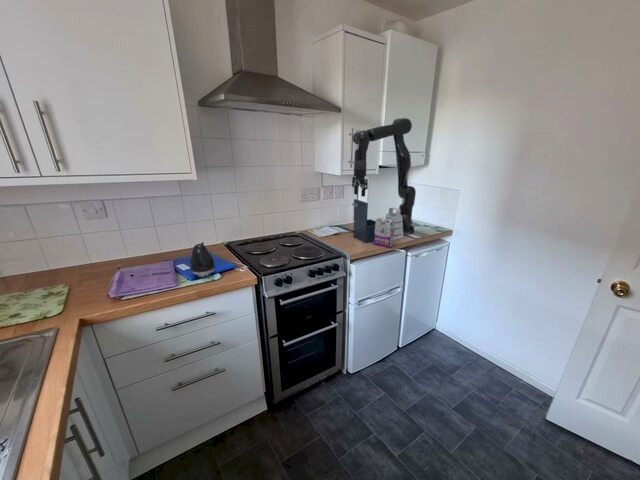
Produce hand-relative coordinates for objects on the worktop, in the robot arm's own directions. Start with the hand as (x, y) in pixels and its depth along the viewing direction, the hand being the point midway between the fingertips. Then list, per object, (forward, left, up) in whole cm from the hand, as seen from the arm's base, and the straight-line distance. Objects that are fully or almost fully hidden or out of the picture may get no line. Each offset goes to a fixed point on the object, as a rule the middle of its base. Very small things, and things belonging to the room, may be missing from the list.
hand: (359, 195), depth 185 cm
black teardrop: (+93, +13, -30) cm, 99 cm away
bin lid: (-2, -1, -11) cm, 11 cm away
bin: (-9, -1, -29) cm, 31 cm away
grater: (-26, +4, -30) cm, 39 cm away
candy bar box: (-10, +15, -30) cm, 35 cm away
